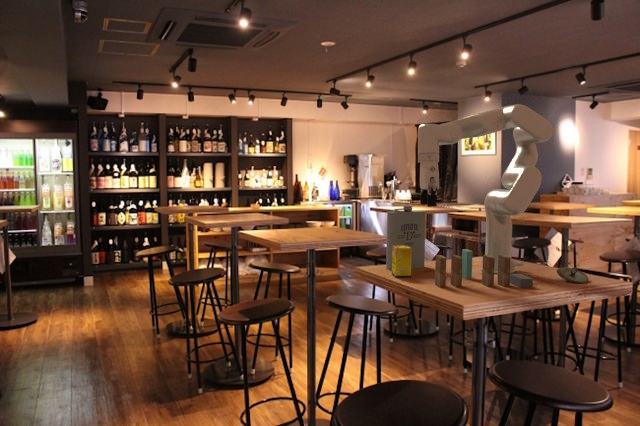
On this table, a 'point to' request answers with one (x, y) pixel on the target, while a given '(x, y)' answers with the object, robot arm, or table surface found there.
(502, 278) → the tile
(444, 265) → the tile
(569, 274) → the lid
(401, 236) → the flask
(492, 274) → the tile
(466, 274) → the tile
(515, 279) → the block
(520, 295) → the table surface
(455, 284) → the tile
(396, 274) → the supplement box
